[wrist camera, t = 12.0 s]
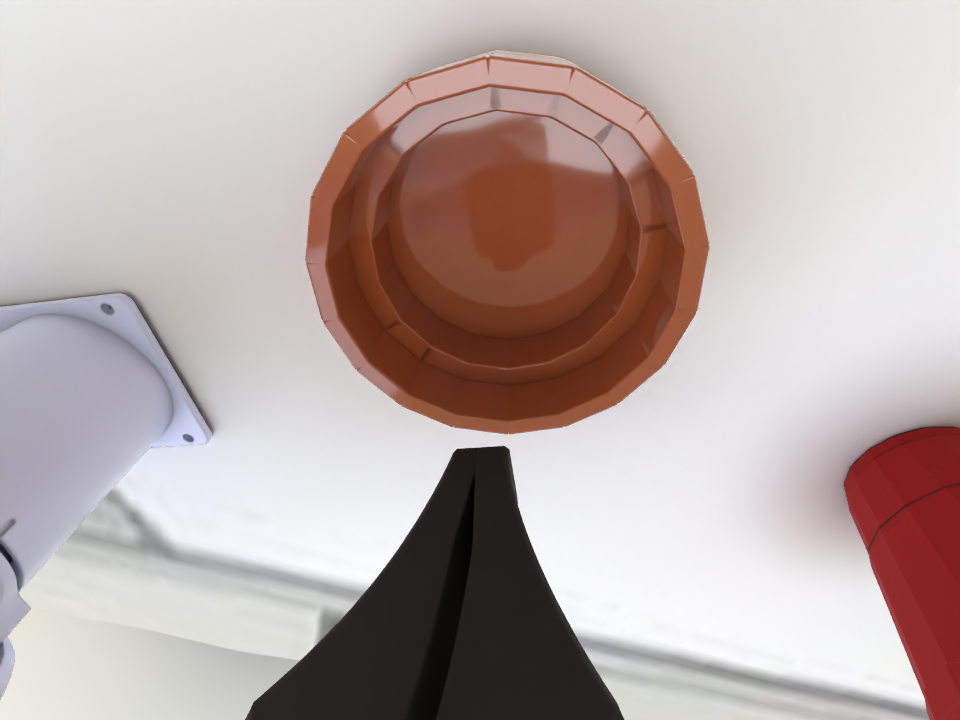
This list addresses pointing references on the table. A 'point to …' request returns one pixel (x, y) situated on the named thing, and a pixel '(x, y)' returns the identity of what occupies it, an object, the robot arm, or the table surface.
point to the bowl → (506, 244)
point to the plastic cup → (916, 550)
